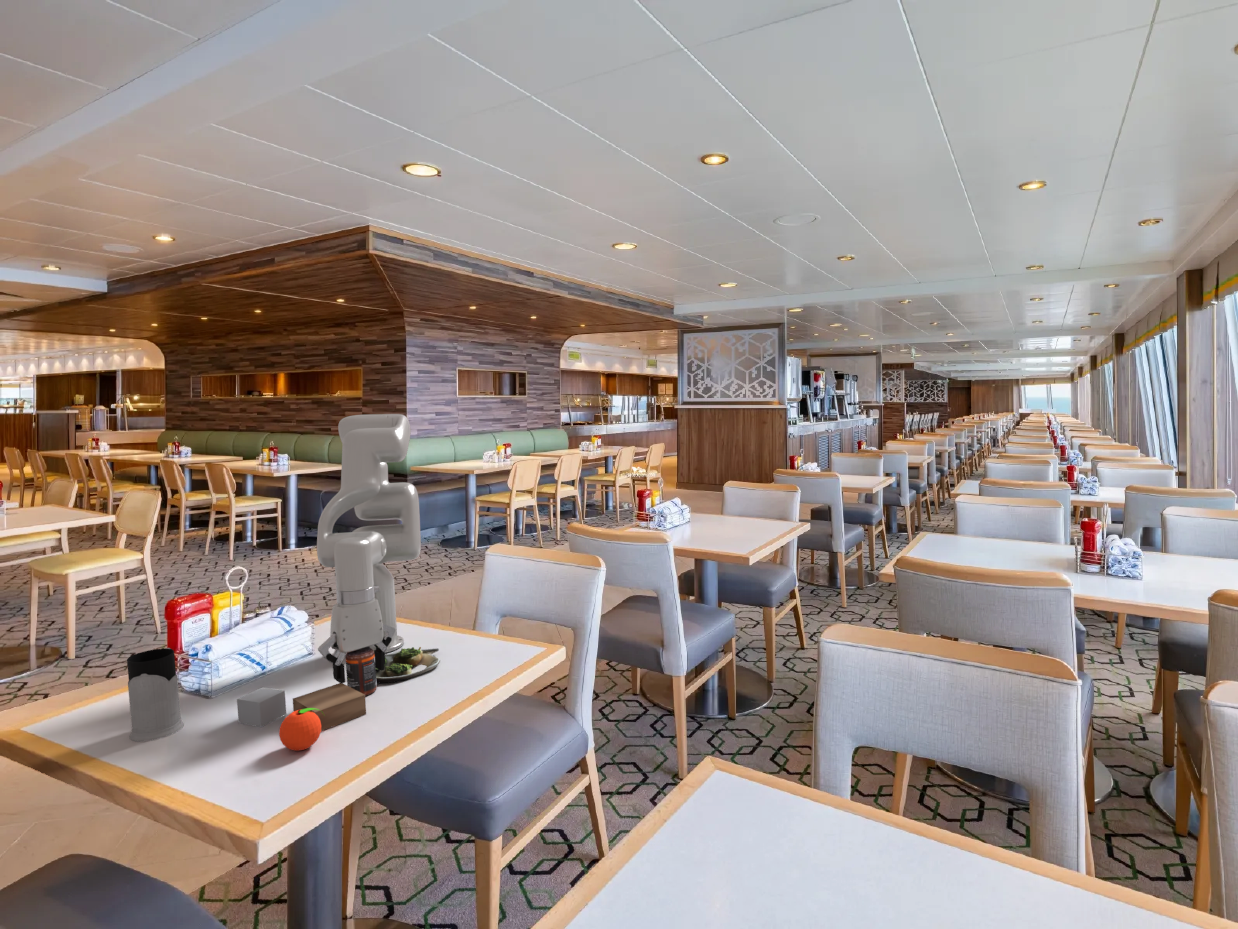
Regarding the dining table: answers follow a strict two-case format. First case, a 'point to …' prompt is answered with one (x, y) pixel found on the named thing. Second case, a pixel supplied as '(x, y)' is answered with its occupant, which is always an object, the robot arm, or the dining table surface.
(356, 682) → the supplement bottle
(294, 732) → the clementine
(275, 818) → the dining table surface
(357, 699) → the walnut block
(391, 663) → the salad plate
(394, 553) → the robot arm
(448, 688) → the dining table surface
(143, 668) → the glass holder
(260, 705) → the grey block
